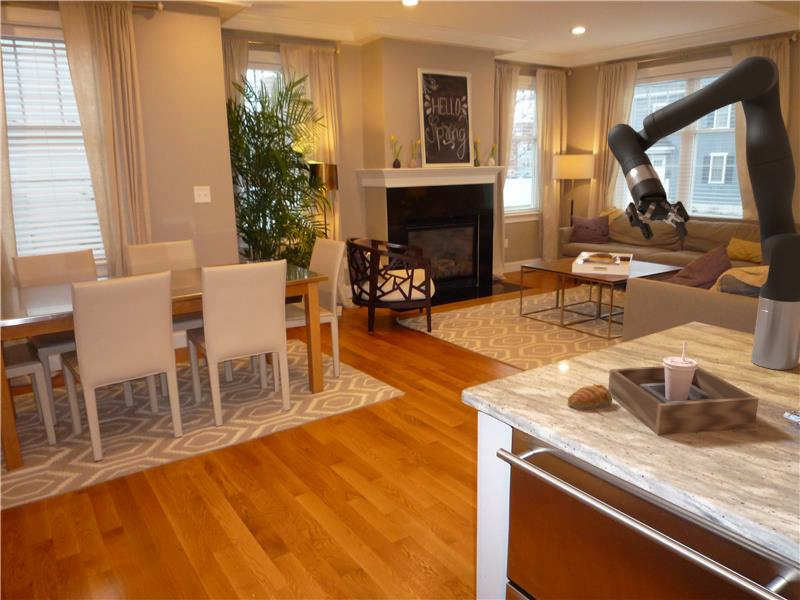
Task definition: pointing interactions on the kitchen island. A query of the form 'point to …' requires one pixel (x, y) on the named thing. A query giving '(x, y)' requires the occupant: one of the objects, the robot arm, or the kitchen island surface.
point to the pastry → (590, 397)
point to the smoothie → (678, 376)
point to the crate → (682, 402)
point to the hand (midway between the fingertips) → (667, 237)
